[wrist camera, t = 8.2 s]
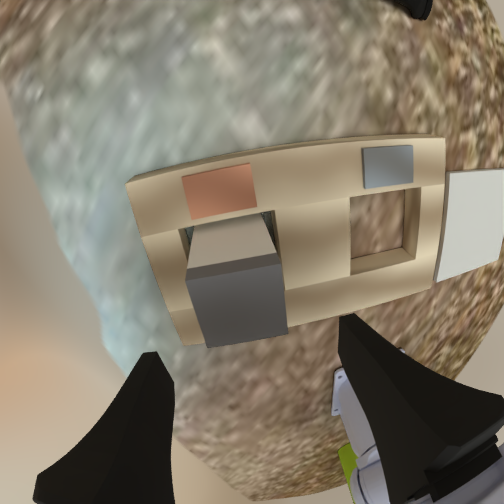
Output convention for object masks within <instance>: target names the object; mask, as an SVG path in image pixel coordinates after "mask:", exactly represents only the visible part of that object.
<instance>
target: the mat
mask: <svg viewBox="0 0 504 504" xmlns="http://www.w3.org/2000/svg"><path fill="white" fill-rule="evenodd" d="M503 235H504V168H495V169H478V170H463V171H450V172H446V183H445V199H444V211H443V221H442V229H441V237H440V244H439V251H438V257H437V263H436V269H435V274H434V279H433V280H434V281H435V282H439V281H442V280H445V279H448V278H451V277H454V276H456V275H459V274H462V273H465V272H467V271H470V270H473V269H475V268H478V267H481V266H483V265H486V264H488V263H491V262H493V261H496V260H498V257H499V253H500V249H501V245H502V240H503Z"/></svg>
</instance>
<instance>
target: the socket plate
mask: <svg viewBox="0 0 504 504" xmlns="http://www.w3.org/2000/svg"><path fill="white" fill-rule="evenodd" d="M444 185H445V138H443V137H438V136H434V135H430V134H400V135H376V136H360V137H347V138H336V139H326V140H316V141H308V142H300V143H292V144H285V145H278V146H271V147H265V148H259V149H253V150H247V151H241V152H236V153H230V154H225V155H220V156H215V157H210V158H206V159H201V160H196V161H192V162H187V163H183V164H179V165H175V166H171V167H167V168H163V169H159V170H155V171H151V172H147V173H144V174H140V175H136V176H134V177H133V178H131V179H130V180H129V181H128V182H127V183H125V186H126V190H127V193H128V197H129V200H130V203H131V207H132V210H133V213H134V217H135V220H136V223H137V226H138V229H139V232H140V235H141V238H142V241H143V244H144V247H145V250H146V253H147V256H148V258H149V261H150V264H151V267H152V270H153V272H154V275H155V278H156V280H157V283H158V286H159V288H160V291H161V293H162V296H163V298H164V301H165V303H166V306H167V308H168V311H169V313H170V316H171V318H172V320H173V323H174V325H175V327H176V330H177V332H178V334H179V337H180V339H181V341H182V343H183V346H186V345H193V344H200V343H205V340H204V337H203V334H202V331H201V328H200V325H199V323H198V320H197V317H196V314H195V311H194V308H193V305H192V302H191V299H190V295H189V292H188V289H187V286H186V283H185V278H186V271H187V265H188V259H189V254H190V245H189V242H188V238H187V234H186V231H185V227H190V226H195V225H199V224H204V223H209V222H214V221H219V220H224V219H229V218H234V217H239V216H244V215H250V214H255V213H260V212H265V211H271V217H272V224H273V231H274V238H275V245H276V252H277V255H278V257H279V260H280V262H281V267H282V276H283V285H284V295H285V305H286V315H287V325H288V327H291V326H296V325H300V324H304V323H309V322H313V321H317V320H321V319H325V318H329V317H333V316H337V315H341V314H345V313H349V312H353V311H356V310H360V309H364V308H367V307H371V306H374V305H378V304H381V303H385V302H388V301H391V300H395V299H398V298H401V297H404V296H407V295H411V294H414V293H417V292H420V291H423V290H426V289H429V288H431V285H432V280H433V275H434V270H435V264H436V259H437V252H438V246H439V239H440V231H441V222H442V213H443V201H444ZM402 189H405V211H404V229H403V242H402V247H401V248H397V249H393V250H389V251H384V252H380V253H376V254H371V255H367V256H362V257H358V258H354V259H350V200H349V197H353V196H360V195H367V194H373V193H380V192H387V191H394V190H402Z"/></svg>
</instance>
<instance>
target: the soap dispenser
mask: <svg viewBox="0 0 504 504" xmlns="http://www.w3.org/2000/svg"><path fill="white" fill-rule="evenodd" d="M338 455H339V458H340V461H341V464H342V467H343V471H344V474H345V477H346V480H347V483H348V486H349V490H350V493H351V489H350V477H351V475H352V471H353V470H354V468H356V467H358V466H357V463H356V459H358V458H359V457H358V456H357V455H356V454H355V453H354V451H353V449H352V447H351V444H350V443H348V444H346V445H345V446H343V447H342V448H340V449H339V450H338ZM351 496H352V493H351ZM352 499H353V497H352ZM353 503H354V504H355V502H354V499H353Z"/></svg>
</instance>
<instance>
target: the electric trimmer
mask: <svg viewBox="0 0 504 504" xmlns="http://www.w3.org/2000/svg"><path fill="white" fill-rule="evenodd" d="M395 1H397V2H399V3H400V4H402V5H404V6H406V7H407V8H409V9H410V11H411V14H412V17H413V18H415V19H417V18H421V19H423V20H426V19H427V17H428V16H429V13H430V11H431V8H432V2H433V0H395Z"/></svg>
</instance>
